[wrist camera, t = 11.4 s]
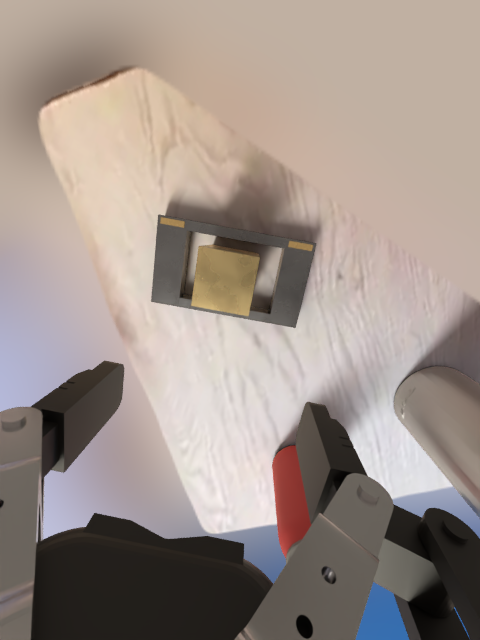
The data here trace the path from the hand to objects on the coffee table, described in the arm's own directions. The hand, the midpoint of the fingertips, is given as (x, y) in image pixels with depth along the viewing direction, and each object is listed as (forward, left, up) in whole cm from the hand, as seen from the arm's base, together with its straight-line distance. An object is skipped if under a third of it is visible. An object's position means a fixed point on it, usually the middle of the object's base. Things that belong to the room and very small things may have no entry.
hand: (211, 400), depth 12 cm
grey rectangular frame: (+1, -3, -20) cm, 20 cm away
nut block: (+1, -3, -20) cm, 20 cm away
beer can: (-12, +21, -20) cm, 31 cm away
